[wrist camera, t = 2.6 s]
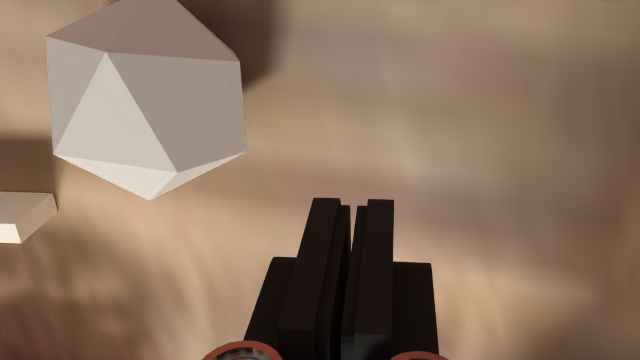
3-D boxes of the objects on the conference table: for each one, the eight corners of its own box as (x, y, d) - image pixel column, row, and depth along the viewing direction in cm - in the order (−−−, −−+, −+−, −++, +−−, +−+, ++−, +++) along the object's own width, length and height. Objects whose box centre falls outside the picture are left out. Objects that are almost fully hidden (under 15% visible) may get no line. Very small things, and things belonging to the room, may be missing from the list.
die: (162, -61, 25) (-47, 19, 20) (300, 9, 22) (89, 128, 17) (186, 81, 32) (30, 170, 26) (297, 154, 28) (141, 274, 23)
